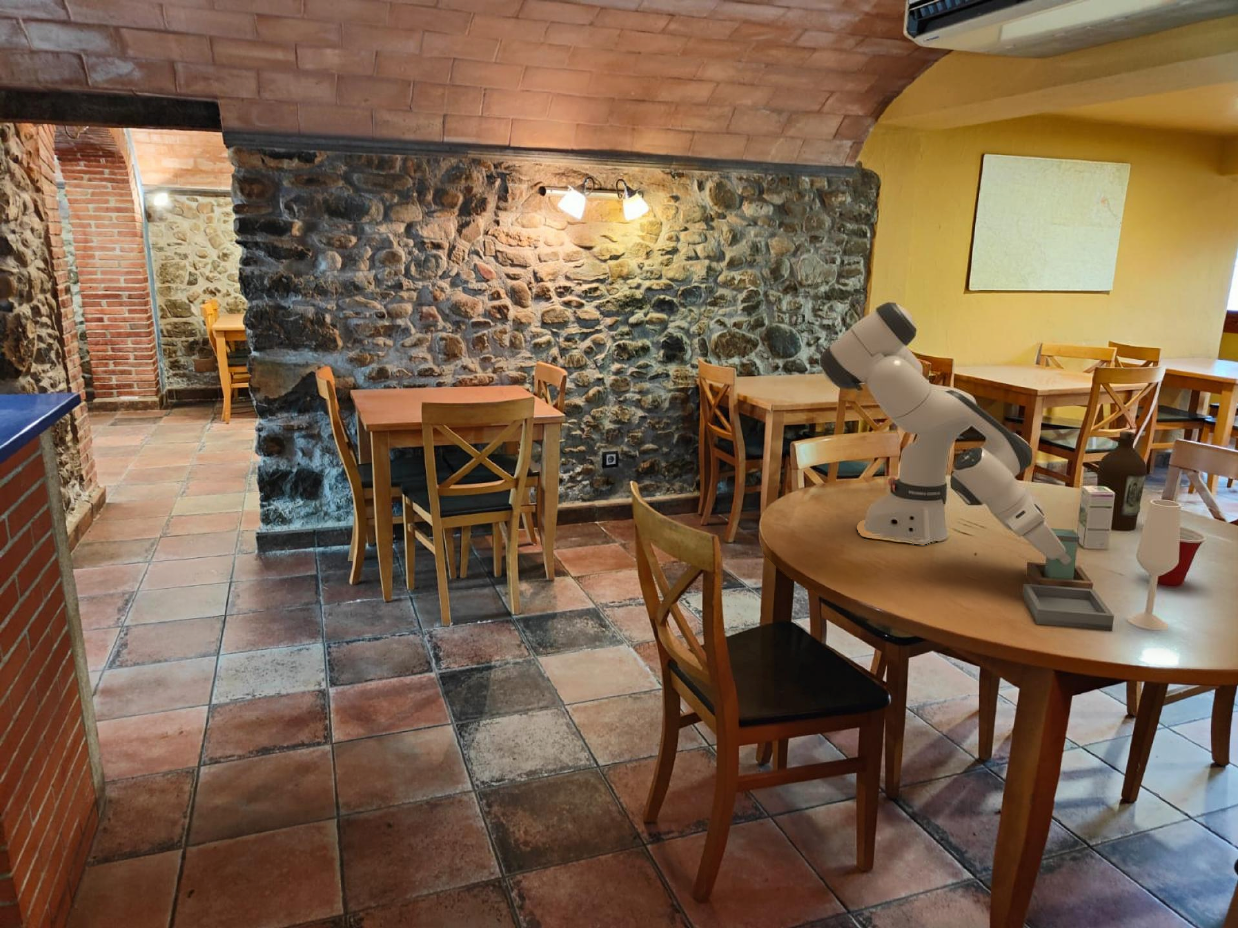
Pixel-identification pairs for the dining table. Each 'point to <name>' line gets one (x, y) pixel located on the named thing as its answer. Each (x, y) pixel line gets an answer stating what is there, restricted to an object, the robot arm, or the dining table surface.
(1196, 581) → the dining table surface
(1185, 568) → the plastic cup
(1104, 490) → the syrup box
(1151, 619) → the champagne flute
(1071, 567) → the pin
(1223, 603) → the dining table surface
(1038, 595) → the grey tray
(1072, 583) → the walnut collar
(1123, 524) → the olive oil
